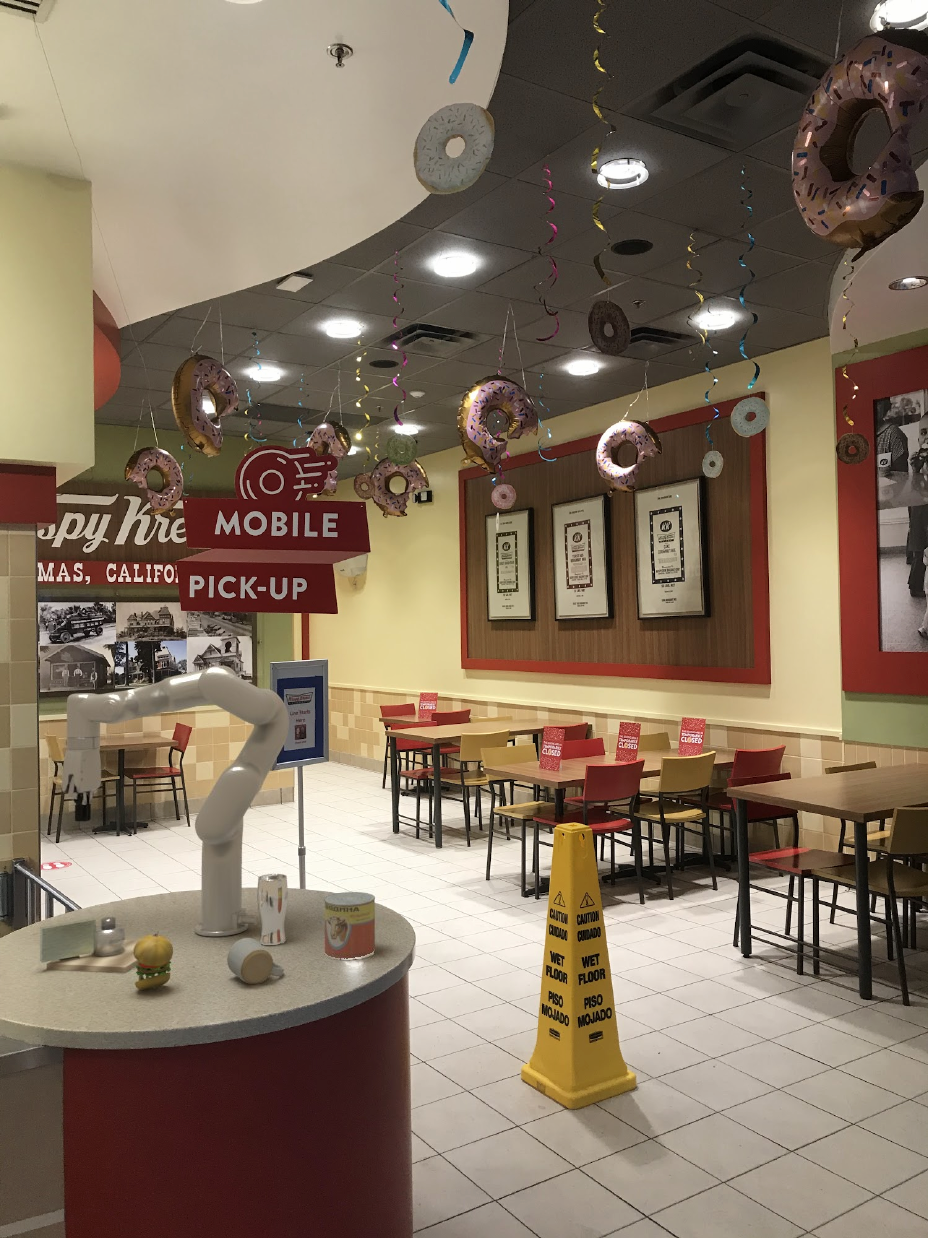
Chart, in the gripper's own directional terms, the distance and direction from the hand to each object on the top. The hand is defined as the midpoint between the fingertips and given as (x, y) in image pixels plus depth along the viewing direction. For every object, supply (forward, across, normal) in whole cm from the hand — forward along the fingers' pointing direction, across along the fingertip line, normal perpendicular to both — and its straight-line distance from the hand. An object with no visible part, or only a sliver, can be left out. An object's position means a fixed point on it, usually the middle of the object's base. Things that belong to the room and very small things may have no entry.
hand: (82, 820), depth 229 cm
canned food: (+27, +5, +68) cm, 73 cm away
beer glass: (+27, 0, +48) cm, 55 cm away
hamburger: (+27, +34, +36) cm, 57 cm away
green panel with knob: (+26, +20, +12) cm, 35 cm away
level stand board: (+27, +16, +16) cm, 35 cm away
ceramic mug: (+27, +24, +54) cm, 65 cm away
